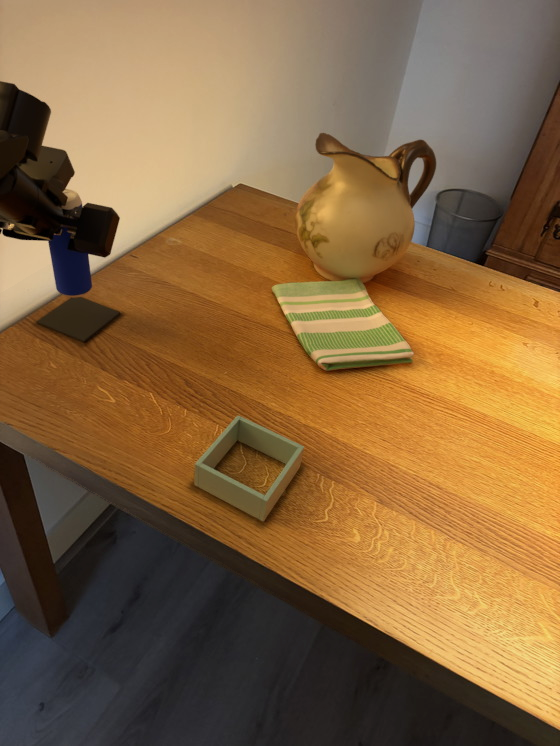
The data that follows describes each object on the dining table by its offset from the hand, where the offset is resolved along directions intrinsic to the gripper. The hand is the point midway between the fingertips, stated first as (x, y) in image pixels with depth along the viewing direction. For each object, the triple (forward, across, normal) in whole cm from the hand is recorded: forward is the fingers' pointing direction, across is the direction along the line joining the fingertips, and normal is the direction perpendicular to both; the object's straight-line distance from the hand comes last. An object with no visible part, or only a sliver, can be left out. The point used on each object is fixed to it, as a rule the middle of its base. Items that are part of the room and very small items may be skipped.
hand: (72, 241), depth 80 cm
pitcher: (+32, -39, -14) cm, 53 cm away
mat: (+8, 0, +10) cm, 13 cm away
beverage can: (+5, 0, +6) cm, 8 cm away
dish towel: (+18, -41, +1) cm, 44 cm away
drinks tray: (-7, -34, +26) cm, 43 cm away
